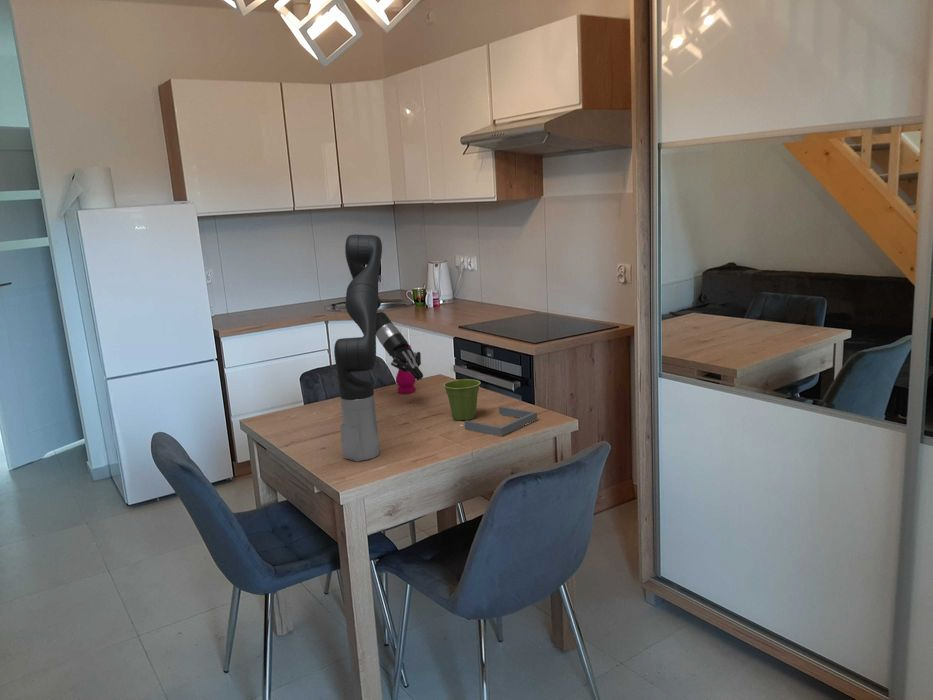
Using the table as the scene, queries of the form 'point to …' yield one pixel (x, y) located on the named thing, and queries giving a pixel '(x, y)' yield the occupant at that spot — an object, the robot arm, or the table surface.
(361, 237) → the robot arm
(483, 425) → the bay
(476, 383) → the plant pot
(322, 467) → the table surface
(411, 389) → the pepper mill
